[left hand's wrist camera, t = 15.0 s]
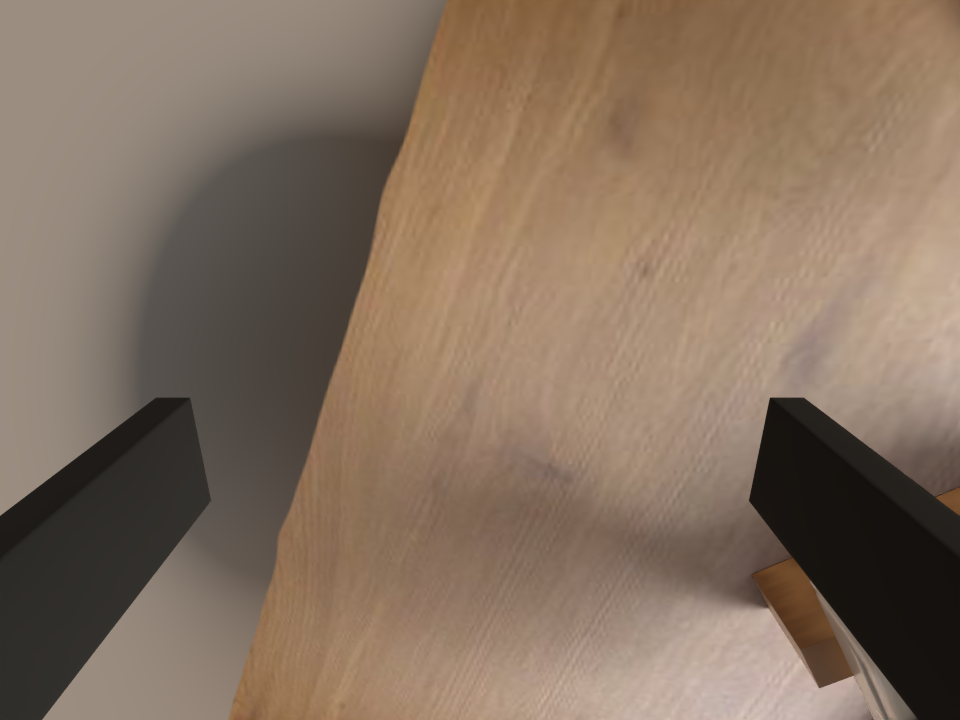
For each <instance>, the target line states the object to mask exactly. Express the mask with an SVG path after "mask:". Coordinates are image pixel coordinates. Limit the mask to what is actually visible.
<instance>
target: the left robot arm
mask: <svg viewBox="0 0 960 720" xmlns="http://www.w3.org/2000/svg"><path fill="white" fill-rule="evenodd" d="M210 501H211V498H210V494H209V489H208V484H207V479H206V474H205V469H204V464H203V459H202V454H201V449H200V444H199V440H198V435H197V430H196V425H195V420H194V415H193V410H192V405H191V400H190V398H155V399H154V400H153V401H151V402H150V403H149V404H147V405H146V406H145V407H143V408H142V409H141V410H139V411H138V412H137V413H135V414H134V415H133V416H131V417H130V418H129V419H127V420H126V421H125V422H123V423H122V424H121V425H120V426H118V427H117V428H116V429H114V430H113V431H112V432H110V433H109V434H108V435H106V436H105V437H104V438H102V439H101V440H100V441H98V442H97V443H96V444H95V445H93V446H92V447H91V448H89V449H88V450H87V451H85V452H84V453H83V454H81V455H80V456H79V457H77V458H76V459H75V460H73V461H72V462H71V463H69V464H68V465H67V466H65V467H64V468H63V469H61V470H60V471H59V472H58V473H56V474H55V475H54V476H52V477H51V478H50V479H48V480H47V481H46V482H44V483H43V484H42V485H40V486H39V487H38V488H36V489H35V490H34V491H33V492H31V493H30V494H28V495H27V496H26V497H25V498H23V499H22V500H21V501H19V502H18V503H17V504H15V505H14V506H13V507H11V508H10V509H9V510H7V511H6V512H5V513H4V514H2V515H1V516H0V720H42V719H43V718H44V716H45V715H46V714H47V713H48V711H49V710H50V709H51V707H52V706H53V705H54V703H55V702H56V701H57V699H58V698H59V697H60V696H61V694H62V693H63V692H64V690H65V689H66V688H67V687H68V685H69V684H70V683H71V681H72V680H73V679H74V678H75V676H76V675H77V674H78V672H79V671H80V670H81V668H82V667H83V666H84V664H85V663H86V662H87V661H88V659H89V658H90V657H91V656H92V654H93V653H94V652H95V650H96V649H97V648H98V646H99V645H100V644H101V643H102V641H103V640H104V639H105V637H106V636H107V635H108V634H109V632H110V631H111V630H112V628H113V627H114V626H115V624H116V623H117V622H118V620H119V619H120V618H121V617H122V615H123V614H124V613H125V611H126V610H127V609H128V608H129V606H130V605H131V604H132V602H133V601H134V600H135V598H136V597H137V596H138V595H139V593H140V592H141V591H142V589H143V588H144V587H145V586H146V584H147V583H148V582H149V580H150V579H151V578H152V576H153V575H154V574H155V573H156V571H157V570H158V569H159V567H160V566H161V565H162V564H163V562H164V561H165V560H166V558H167V557H168V556H169V554H170V553H171V552H172V551H173V549H174V548H175V547H176V545H177V544H178V543H179V542H180V540H181V539H182V538H183V536H184V535H185V534H186V532H187V531H188V530H189V528H190V527H191V526H192V525H193V523H194V522H195V521H196V519H197V518H198V517H199V516H200V514H201V513H202V512H203V510H204V509H205V508H206V507H207V505H208V504H209V503H210ZM749 501H750V503H751V504H752V505H753V507H754V508H755V509H756V510H757V512H758V513H759V514H760V516H761V517H762V518H763V520H764V521H765V522H766V523H767V525H768V526H769V527H770V529H771V530H772V531H773V532H774V534H775V535H776V536H777V538H778V539H779V540H780V542H781V543H782V544H783V545H784V547H785V548H786V549H787V551H788V552H789V553H790V554H791V556H792V557H793V558H794V560H795V561H796V562H797V564H798V565H799V566H800V567H801V569H802V570H803V571H804V573H805V574H806V575H807V577H808V578H809V579H810V580H811V582H812V583H813V584H814V586H815V587H816V588H817V589H818V591H819V592H820V593H821V595H822V596H823V597H824V599H825V600H826V601H827V602H828V604H829V605H830V606H831V608H832V609H833V610H834V611H835V613H836V614H837V615H838V617H839V618H840V619H841V621H842V622H843V623H844V624H845V626H846V627H847V628H848V630H849V631H850V632H851V634H852V635H853V636H854V637H855V639H856V640H857V641H858V643H859V644H860V645H861V646H862V648H863V649H864V650H865V652H866V653H867V654H868V656H869V657H870V658H871V659H872V661H873V662H874V663H875V665H876V666H877V667H878V668H879V670H880V671H881V672H882V674H883V675H884V676H885V678H886V679H887V680H888V681H889V683H890V684H891V685H892V687H893V688H894V689H895V691H896V692H897V693H898V694H899V696H900V697H901V698H902V700H903V701H904V702H905V703H906V705H907V706H908V707H909V709H910V710H911V711H912V713H913V714H914V715H915V716H916V718H917V719H918V720H960V515H958V514H957V513H955V512H954V511H953V510H951V509H950V508H949V507H947V506H946V505H945V504H943V503H942V502H941V501H939V500H938V499H937V498H935V497H934V496H933V495H932V494H930V493H929V492H928V491H926V490H925V489H924V488H922V487H921V486H920V485H918V484H917V483H916V482H914V481H913V480H912V479H910V478H909V477H908V476H906V475H905V474H904V473H902V472H901V471H900V470H899V469H897V468H896V467H895V466H893V465H892V464H891V463H889V462H888V461H887V460H885V459H884V458H883V457H881V456H880V455H879V454H877V453H876V452H875V451H873V450H872V449H871V448H869V447H868V446H867V445H866V444H864V443H863V442H862V441H860V440H859V439H858V438H856V437H855V436H854V435H852V434H851V433H850V432H848V431H847V430H846V429H844V428H843V427H842V426H840V425H839V424H838V423H837V422H835V421H834V420H833V419H831V418H830V417H829V416H827V415H826V414H825V413H823V412H822V411H821V410H819V409H818V408H817V407H815V406H814V405H813V404H811V403H810V402H809V401H807V400H806V399H805V398H770V400H769V405H768V410H767V415H766V420H765V425H764V430H763V435H762V439H761V444H760V449H759V454H758V459H757V464H756V469H755V474H754V479H753V484H752V489H751V493H750V498H749Z"/></svg>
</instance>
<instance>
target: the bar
mask: <svg viewBox="0 0 960 720" xmlns="http://www.w3.org/2000/svg"><path fill="white" fill-rule="evenodd" d="M935 498H937V499H938V500H939V501H941V502H942V503H943V504H945V505H946V506H947V507H949V508H950V509H951V510H953V511H954V512H955V513H957V514H958V515H960V487H959V488H956V489H954V490H952V491H949V492H947V493H945V494H942V495H940V496H937V497H935ZM752 576H753V578H754V580H755V582H756V584H757V586H758V588H759V590H760V592H761V594H762V596H763V598H764V600H765V602H766V604H767V606H768V608H769V610H770V611H771V613H772V614H773V616H774V618H775V619H776V621H777V622H778V624H779V625H780V627H781V629H782V630H783V632H784V633H785V635H786V636H787V638H788V640H789V641H790V643H791V644H792V646H793V647H794V649H795V651H796V652H797V654H798V655H799V657H800V658H801V660H802V662H803V663H804V665H805V666H806V668H807V670H808V671H809V673H810V674H811V676H812V677H813V679H814V681H815V682H816V684H817V685H818V687H819V688H822V687H824V686H827V685H830V684H832V683H835V682H838V681H840V680H843V679H846V678H848V677H851V676H854V675H853V673H852V671H851V669H850V667H849V664H848V662H847V660H846V658H845V656H844V654H843V651H842V649H841V647H840V645H839V643H838V641H837V639H836V636H835V634H834V632H833V630H832V628H831V626H830V624H829V621H828V619H827V617H826V615H825V613H824V611H823V608H822V606H821V604H820V602H819V600H818V598H817V596H816V594H815V592H814V590H813V588H812V586H811V584H810V579H809V578H808V577H807V575H806V574H805V573H804V571H803V570H802V569H801V567H800V566H799V565H798V564H797V562H796V561H795V560H794V558H790V559H788V560H786V561H783V562H781V563H778V564H776V565H774V566H771V567H769V568H767V569H764V570H762V571H759V572H757V573H755V574H752Z"/></svg>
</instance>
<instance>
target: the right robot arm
mask: <svg viewBox="0 0 960 720" xmlns="http://www.w3.org/2000/svg"><path fill="white" fill-rule="evenodd" d="M810 584H811V586H812V588H813V590H814V592H815V594H816V596H817V598H818V600H819V602H820V604H821V606H822V608H823V611H824V613H825V615H826V617H827V619H828V621H829V624H830V626H831V628H832V630H833V632H834V634H835V636H836V639H837V641H838V643H839V645H840V647H841V649H842V651H843V654H844V656H845V658H846V660H847V662H848V664H849V667H850V669H851V671H852V673H853V675H854V677H855V679H856V682H857V684H858V686H859V688H860V690H861V692H862V695H863V697H864V699H865V701H866V703H867V705H868V707H869V710H870V712H871V714H872V716H873V718H874V720H918V719H917V718H916V716H915V715H914V714H913V713H912V711H911V710H910V709H909V707H908V706H907V705H906V703H905V702H904V701H903V700H902V698H901V697H900V696H899V694H898V693H897V692H896V691H895V689H894V688H893V687H892V685H891V684H890V683H889V681H888V680H887V679H886V678H885V676H884V675H883V674H882V672H881V671H880V670H879V668H878V667H877V666H876V665H875V663H874V662H873V661H872V659H871V658H870V657H869V656H868V654H867V653H866V652H865V650H864V649H863V648H862V646H861V645H860V644H859V643H858V641H857V640H856V639H855V637H854V636H853V635H852V634H851V632H850V631H849V630H848V628H847V627H846V626H845V624H844V623H843V622H842V621H841V619H840V618H839V617H838V615H837V614H836V613H835V611H834V610H833V609H832V608H831V606H830V605H829V604H828V602H827V601H826V600H825V599H824V597H823V596H822V595H821V593H820V592H819V591H818V589H817V588H816V587H815V586H814V584H813V583H812V582H811V580H810Z"/></svg>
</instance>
